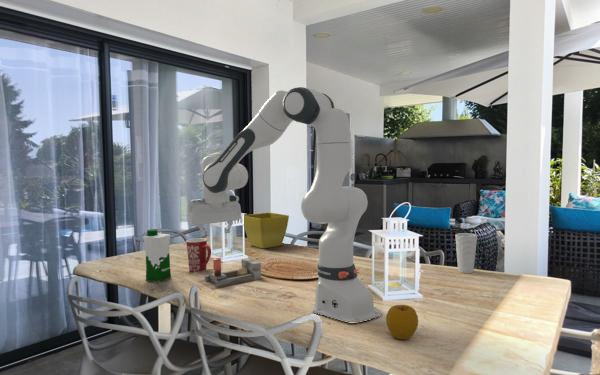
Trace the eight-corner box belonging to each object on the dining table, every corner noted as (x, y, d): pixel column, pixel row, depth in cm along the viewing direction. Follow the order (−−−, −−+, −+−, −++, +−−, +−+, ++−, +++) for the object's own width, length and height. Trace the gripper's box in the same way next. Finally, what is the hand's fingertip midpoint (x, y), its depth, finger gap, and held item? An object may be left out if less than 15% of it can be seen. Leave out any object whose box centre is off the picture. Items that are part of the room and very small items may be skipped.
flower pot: (269, 240, 252) (269, 212, 251) (290, 245, 238) (289, 215, 237) (242, 245, 240) (241, 215, 239) (261, 251, 226) (261, 218, 224)
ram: (226, 283, 164) (225, 259, 163) (216, 285, 162) (216, 261, 161) (218, 279, 170) (217, 256, 169) (209, 280, 167) (208, 257, 167)
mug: (182, 271, 188) (181, 240, 187) (199, 266, 195) (198, 237, 194) (201, 276, 181) (200, 243, 180) (218, 271, 188) (217, 240, 187)
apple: (403, 347, 111) (403, 314, 110) (378, 336, 118) (378, 305, 117) (424, 339, 116) (425, 306, 115) (400, 329, 123) (400, 298, 122)
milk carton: (156, 275, 183) (154, 228, 181) (174, 276, 180) (172, 228, 179) (142, 280, 175) (140, 231, 173) (161, 282, 172) (159, 232, 170)
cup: (455, 273, 178) (455, 236, 176) (454, 268, 186) (454, 232, 185) (477, 275, 175) (478, 237, 174) (475, 269, 183) (476, 233, 182)
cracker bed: (264, 282, 170) (264, 263, 169) (212, 293, 157) (212, 273, 156) (247, 274, 181) (246, 257, 181) (197, 284, 168) (196, 265, 168)
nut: (249, 277, 171) (249, 267, 171) (240, 279, 169) (240, 269, 169) (244, 275, 175) (244, 265, 174) (235, 277, 172) (235, 267, 172)
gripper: (191, 200, 154) (193, 239, 155) (242, 196, 166) (243, 232, 167) (184, 199, 159) (186, 236, 160) (234, 195, 172) (236, 230, 172)
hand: (216, 234), depth 164 cm, fingers open, 8 cm apart
